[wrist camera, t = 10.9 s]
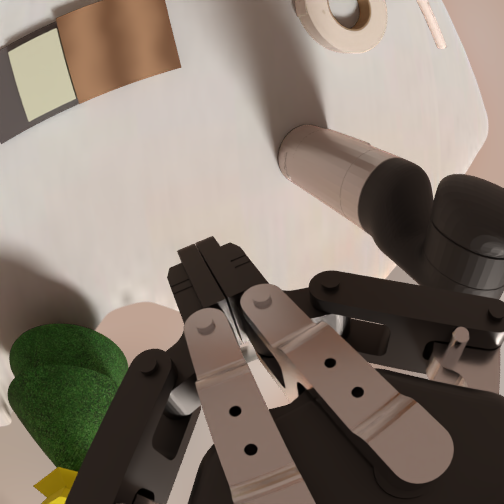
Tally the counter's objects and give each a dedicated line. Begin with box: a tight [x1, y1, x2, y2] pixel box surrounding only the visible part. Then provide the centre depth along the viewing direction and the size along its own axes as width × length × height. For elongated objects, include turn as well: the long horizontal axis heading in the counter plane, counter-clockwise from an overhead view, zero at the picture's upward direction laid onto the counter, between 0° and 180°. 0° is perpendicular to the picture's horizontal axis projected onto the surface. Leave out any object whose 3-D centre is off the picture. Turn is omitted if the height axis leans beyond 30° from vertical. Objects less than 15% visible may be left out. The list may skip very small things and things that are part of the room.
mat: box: [0, 21, 79, 144], centre depth 26 cm, size 12×11×1 cm
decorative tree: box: [8, 324, 128, 504], centre depth 33 cm, size 19×19×30 cm
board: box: [56, 0, 181, 104], centre depth 27 cm, size 12×11×2 cm
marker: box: [417, 0, 446, 49], centre depth 38 cm, size 18×2×2 cm, turn 40°
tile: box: [8, 28, 77, 122], centre depth 25 cm, size 6×9×2 cm, turn 12°
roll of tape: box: [295, 0, 387, 53], centre depth 34 cm, size 16×15×3 cm
